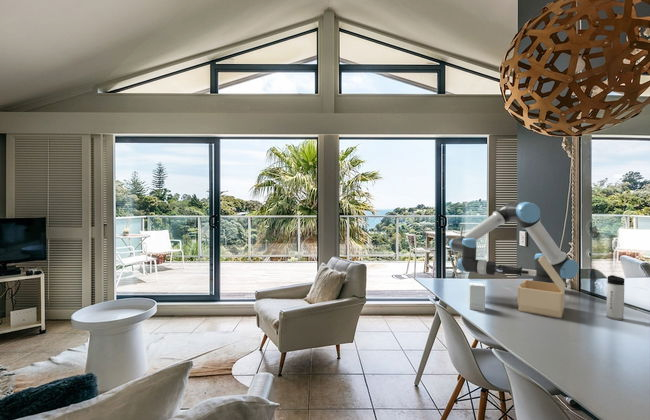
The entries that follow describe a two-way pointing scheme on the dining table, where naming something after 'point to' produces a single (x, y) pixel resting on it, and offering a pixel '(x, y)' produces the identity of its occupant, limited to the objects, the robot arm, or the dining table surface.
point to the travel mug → (615, 298)
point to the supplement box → (477, 296)
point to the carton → (540, 298)
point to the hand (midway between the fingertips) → (536, 273)
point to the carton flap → (552, 273)
